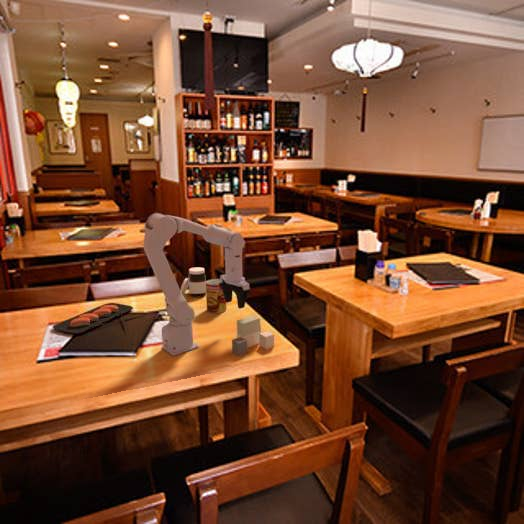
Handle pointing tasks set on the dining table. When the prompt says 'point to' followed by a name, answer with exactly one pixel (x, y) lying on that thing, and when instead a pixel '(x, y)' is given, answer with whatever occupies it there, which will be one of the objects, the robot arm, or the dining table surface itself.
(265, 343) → the pale grey cube brick
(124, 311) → the sushi plate
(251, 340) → the cream brick
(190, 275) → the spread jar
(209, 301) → the canned food
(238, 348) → the charcoal cube brick
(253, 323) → the sage green brick
